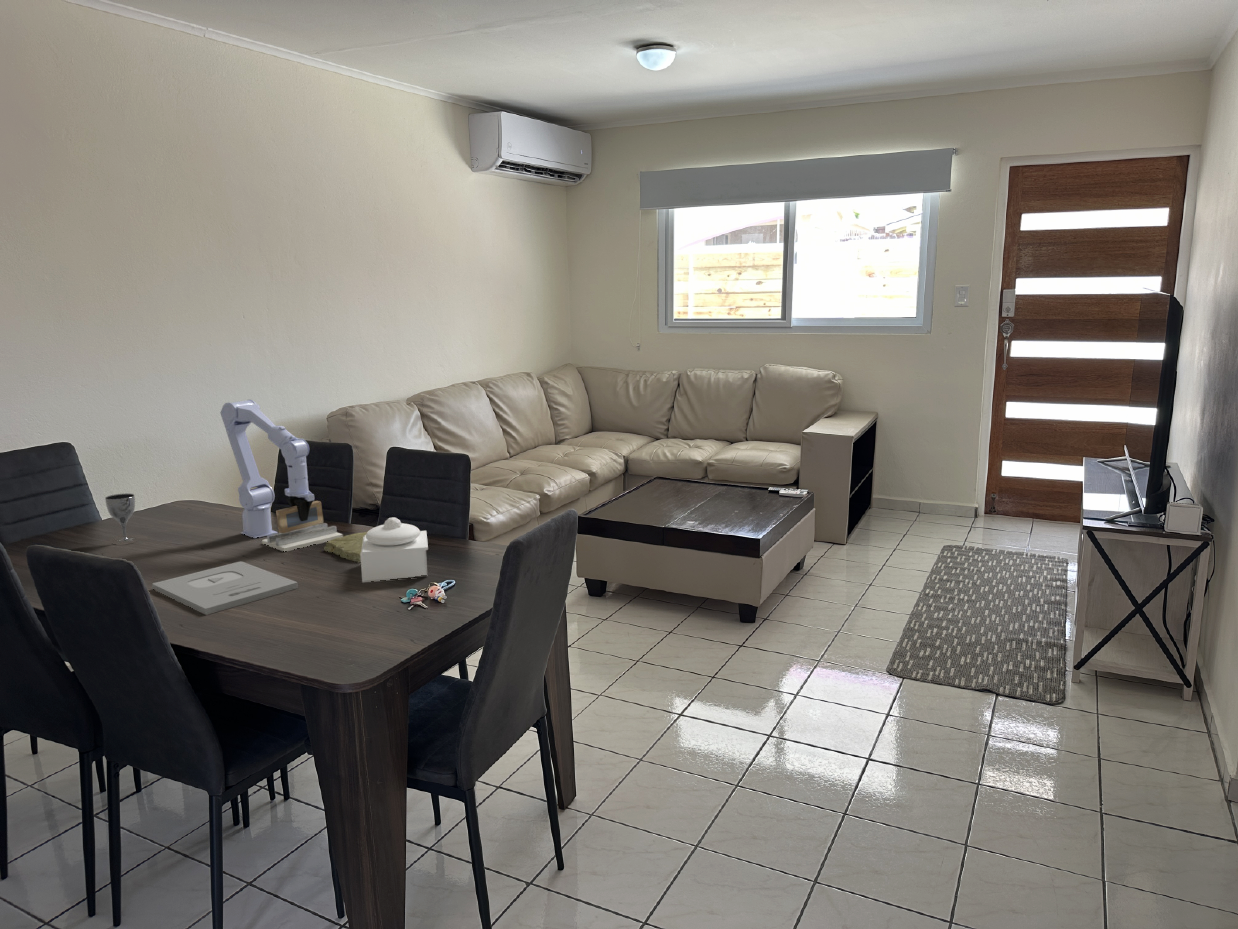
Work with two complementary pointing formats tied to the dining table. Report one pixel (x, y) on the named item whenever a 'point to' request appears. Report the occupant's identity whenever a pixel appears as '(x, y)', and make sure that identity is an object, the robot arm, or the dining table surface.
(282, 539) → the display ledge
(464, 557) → the dining table surface
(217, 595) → the award plaque
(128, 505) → the wine glass
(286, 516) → the tan wooden frame
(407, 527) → the butter dish
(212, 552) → the dining table surface
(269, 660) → the dining table surface
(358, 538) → the mossy green slab
